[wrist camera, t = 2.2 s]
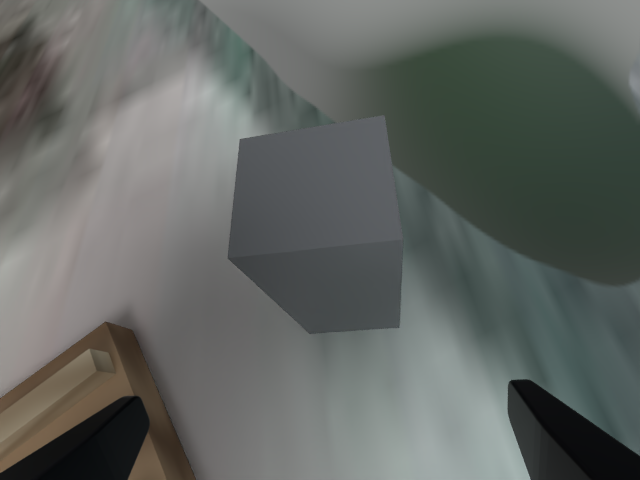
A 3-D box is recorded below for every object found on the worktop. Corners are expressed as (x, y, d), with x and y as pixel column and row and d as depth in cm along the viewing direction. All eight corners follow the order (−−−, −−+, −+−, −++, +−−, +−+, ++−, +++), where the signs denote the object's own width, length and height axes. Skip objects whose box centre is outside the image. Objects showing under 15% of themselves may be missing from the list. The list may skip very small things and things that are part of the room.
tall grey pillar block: (399, 327, 21) (403, 239, 10) (309, 333, 22) (227, 258, 11) (389, 251, 23) (384, 115, 12) (308, 260, 24) (239, 139, 13)
